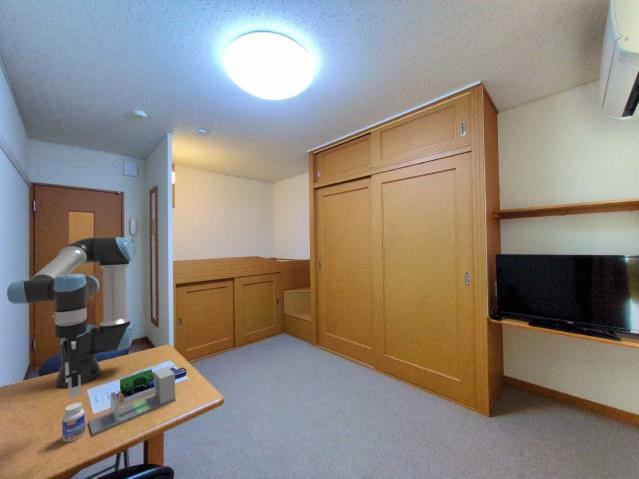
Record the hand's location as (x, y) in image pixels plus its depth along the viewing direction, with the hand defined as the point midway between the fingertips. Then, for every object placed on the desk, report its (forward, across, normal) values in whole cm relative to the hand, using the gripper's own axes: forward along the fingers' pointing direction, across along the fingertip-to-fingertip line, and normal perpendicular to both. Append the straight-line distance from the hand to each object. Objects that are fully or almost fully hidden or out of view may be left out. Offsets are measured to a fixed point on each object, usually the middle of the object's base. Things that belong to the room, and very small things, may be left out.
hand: (72, 388), depth 86 cm
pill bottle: (+16, 0, 0) cm, 16 cm away
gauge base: (+16, 0, +17) cm, 23 cm away
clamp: (+16, -16, +21) cm, 31 cm away
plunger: (+15, 0, +17) cm, 22 cm away
